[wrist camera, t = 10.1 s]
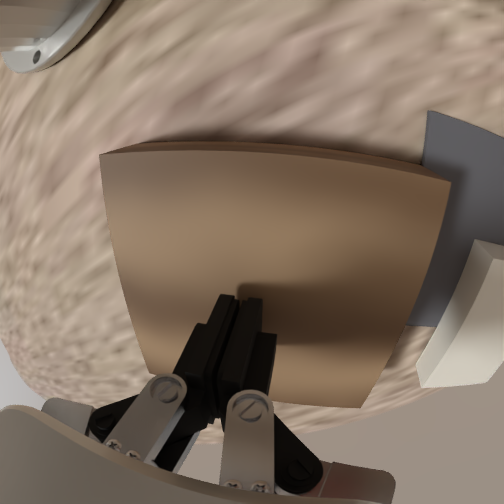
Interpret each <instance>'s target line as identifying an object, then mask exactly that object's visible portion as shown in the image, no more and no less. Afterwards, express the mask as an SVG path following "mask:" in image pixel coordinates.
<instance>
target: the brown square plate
mask: <svg viewBox="0 0 504 504" xmlns="http://www.w3.org/2000/svg"><path fill="white" fill-rule="evenodd" d="M99 158H100V168H101V178H102V186H103V193H104V201H105V207H106V214H107V220H108V225H109V231H110V236H111V241H112V246H113V251H114V256H115V260H116V265H117V269H118V273H119V277H120V281H121V285H122V289H123V293H124V297H125V300H126V304H127V307H128V311H129V314H130V318H131V321H132V324H133V327H134V330H135V334H136V337H137V340H138V343H139V346H140V349H141V351H142V354H143V357H144V360H145V363H146V365H147V368H148V371H149V373H151V374H154V375H159V374H163V373H171V374H172V372H173V370H174V368H175V366H176V364H177V362H178V360H179V358H180V356H181V354H182V352H183V350H184V348H185V345H186V343H187V341H188V339H189V337H190V335H191V333H192V331H193V329H194V327H195V325H196V324H197V323H203V324H206V323H207V321H208V319H209V317H210V315H211V312H212V310H213V308H214V306H215V304H216V301H217V299H218V297H219V295H220V294H227V295H234V296H235V299H238V300H239V301H240V306H241V304H242V301H243V300H246V301H247V300H248V298H249V297H252V298H260V299H263V311H262V332H265V333H274V334H277V346H276V354H275V361H274V367H273V373H272V378H271V384H270V389H269V395H268V397H269V398H270V399H271V401H277V402H285V403H293V404H302V405H313V406H325V407H342V408H361V406H362V405H363V403H364V402H365V400H366V398H367V397H368V395H369V393H370V392H371V390H372V388H373V387H374V385H375V383H376V382H377V380H378V378H379V376H380V375H381V373H382V371H383V369H384V367H385V365H386V364H387V362H388V360H389V358H390V356H391V354H392V352H393V350H394V348H395V346H396V344H397V342H398V340H399V338H400V336H401V334H402V331H403V329H404V327H405V325H406V323H407V320H408V318H409V316H410V314H411V311H412V309H413V307H414V304H415V302H416V299H417V297H418V294H419V292H420V289H421V286H422V284H423V281H424V278H425V276H426V273H427V270H428V267H429V264H430V261H431V258H432V255H433V252H434V249H435V246H436V242H437V239H438V236H439V232H440V228H441V225H442V221H443V217H444V213H445V209H446V205H447V201H448V196H449V192H450V187H451V182H450V181H448V180H447V179H445V178H443V177H441V176H440V175H438V174H436V173H434V172H433V171H431V170H429V169H427V168H425V167H423V166H421V165H417V164H413V163H408V162H404V161H399V160H394V159H389V158H384V157H378V156H373V155H367V154H361V153H354V152H348V151H341V150H333V149H325V148H317V147H308V146H298V145H286V144H273V143H256V142H231V141H179V142H154V143H138V144H134V145H131V146H127V147H124V148H120V149H117V150H113V151H110V152H107V153H103V154H100V155H99Z"/></svg>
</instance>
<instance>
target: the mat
mask: <svg viewBox="0 0 504 504" xmlns="http://www.w3.org/2000/svg"><path fill="white" fill-rule="evenodd" d="M421 166H423V167H425V168H427V169H429V170H431V171H433V172H434V173H436V174H438V175H440V176H441V177H443V178H445V179H447V180H448V181H450V182H451V187H450V192H449V196H448V201H447V205H446V209H445V213H444V217H443V221H442V225H441V228H440V232H439V236H438V239H437V242H436V246H435V249H434V252H433V255H432V258H431V261H430V264H429V267H428V270H427V273H426V276H425V278H424V281H423V284H422V286H421V289H420V292H419V294H418V297H417V299H416V302H415V304H414V307H413V309H412V311H411V314H410V316H409V318H408V320H407V323H406V325H407V326H427V327H437V326H438V324H439V322H440V320H441V318H442V316H443V314H444V312H445V310H446V308H447V306H448V304H449V302H450V300H451V298H452V296H453V293H454V291H455V289H456V287H457V284H458V282H459V279H460V277H461V275H462V272H463V270H464V267H465V265H466V262H467V259H468V257H469V254H470V251H471V248H472V245H473V242H474V239H477V240H481V241H485V242H490V243H494V244H498V245H502V246H504V138H502V137H500V136H498V135H495V134H493V133H491V132H489V131H486V130H484V129H481V128H479V127H476V126H474V125H471V124H469V123H466V122H463V121H461V120H458V119H455V118H452V117H449V116H446V115H443V114H440V113H437V112H433V111H428V112H427V124H426V134H425V142H424V150H423V157H422V164H421Z"/></svg>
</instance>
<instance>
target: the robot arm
mask: <svg viewBox="0 0 504 504" xmlns="http://www.w3.org/2000/svg"><path fill="white" fill-rule="evenodd" d="M111 2H112V0H0V52H1V53H2V57H3V59H4V62H5V64H6V65H7V67H8V68H9V69H10V70H11V71H14V72H16V73H32V72H39V71H41V70H43V69H46V68H48V67H50V66H51V65H53V64H54V63H56V62H57V61H59V60H60V59H61V58H63V57H64V56H65V55H66V54H67V53H68V52H69V51H70V50H71V49H73V48H74V47H75V46H76V45H77V44H78V42H79V41H80V40H81V39H82V38H83V37H84V36H85V35H86V34H87V33H88V32H89V30H90V29H91V28H92V27H93V25H94V24H95V23H96V22H97V20H98V19H99V18H100V17H101V16H102V14H103V13H104V11H105V10H106V9H107V7H108V6H109V4H110V3H111ZM262 311H263V299H260V298H252V297H249V298H248V300H247V301H246V300H243V301H242V304H241V306H240V301H239V300H238V299H235V296H234V295H227V294H220V295H219V297H218V299H217V301H216V304H215V306H214V308H213V310H212V312H211V315H210V317H209V319H208V321H207V323H206V324H203V323H197V324H196V325H195V327H194V329H193V331H192V333H191V335H190V337H189V339H188V341H187V343H186V345H185V348H184V350H183V352H182V354H181V356H180V358H179V360H178V362H177V364H176V366H175V368H174V370H173V372H172V374H171V373H163V374H159V375H157V376H155V377H153V378H152V379H151V380H150V381H149V382H148V383H147V384H146V386H145V387H144V388H143V390H142V391H141V392H140V394H138V395H135V396H132V397H129V398H127V399H124V400H121V401H118V402H115V403H112V404H109V405H106V406H103V407H100V408H98V409H96V408H94V407H93V406H90V405H85V404H81V403H77V402H72V401H68V400H64V399H60V398H51V399H48V400H47V401H46V402H45V403H44V405H43V407H42V410H41V411H40V410H37V409H35V408H32V407H28V406H24V405H9V406H6V407H4V408H3V409H1V410H0V504H391V503H392V499H393V495H394V492H395V485H396V482H395V479H394V477H393V476H392V475H391V474H390V473H389V472H386V471H383V470H376V469H369V468H363V467H358V466H351V465H347V464H342V463H337V462H332V463H329V462H325V461H321V460H319V459H318V458H317V457H316V456H315V455H314V454H313V453H312V452H311V451H310V450H309V449H308V448H307V447H306V446H305V445H304V444H303V443H302V442H301V441H300V440H299V439H298V438H297V437H296V436H295V435H294V434H293V433H292V432H291V431H290V430H289V429H288V428H287V427H286V425H285V424H284V423H283V422H282V421H281V420H280V419H279V418H278V417H277V416H276V415H275V414H274V407H273V402H272V401H271V399H270V398H269V397H268V395H269V389H270V384H271V378H272V373H273V367H274V361H275V354H276V346H277V334H274V333H265V332H262ZM215 418H218V419H219V418H220V419H221V424H222V429H223V432H224V441H223V451H222V460H221V470H220V481H219V485H216V484H212V483H208V482H204V481H200V480H196V479H193V478H189V477H186V476H182V475H178V474H177V473H178V471H179V469H180V467H181V466H182V464H183V462H184V460H185V459H186V457H187V455H188V453H189V452H190V450H191V448H192V446H193V445H194V443H195V441H196V439H197V437H198V436H199V433H200V431H201V430H203V429H205V428H207V425H208V423H209V424H213V423H214V420H215Z"/></svg>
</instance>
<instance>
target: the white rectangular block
mask: <svg viewBox="0 0 504 504" xmlns="http://www.w3.org/2000/svg"><path fill="white" fill-rule="evenodd" d="M503 360H504V246H502V245H498V244H494V243H490V242H485V241H481V240H477V239H474V242H473V245H472V248H471V251H470V254H469V257H468V259H467V262H466V265H465V267H464V270H463V272H462V275H461V277H460V279H459V282H458V284H457V287H456V289H455V291H454V293H453V296H452V298H451V300H450V302H449V304H448V306H447V308H446V310H445V312H444V314H443V316H442V318H441V320H440V322H439V324H438V326H437V328H436V330H435V332H434V334H433V335H432V337H431V339H430V341H429V342H428V344H427V346H426V348H425V349H424V351H423V353H422V354H421V356H420V358H419V359H418V361H417V363H416V368H417V372H418V376H419V380H420V384H421V388H431V387H448V386H461V385H470V384H479V383H486V382H487V381H488V380H489V379H490V377H491V376H492V375H493V374H494V372H495V371H496V370H497V368H498V367H499V366H500V365H501V363H502V362H503Z"/></svg>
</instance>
